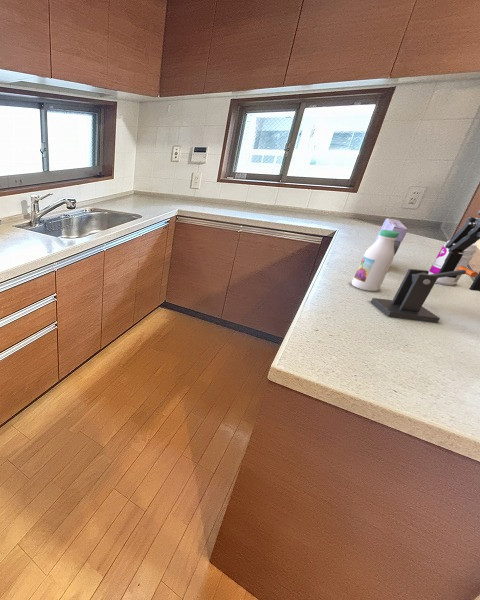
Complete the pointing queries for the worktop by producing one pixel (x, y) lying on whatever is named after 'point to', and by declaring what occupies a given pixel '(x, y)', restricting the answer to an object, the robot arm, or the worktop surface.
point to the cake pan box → (394, 226)
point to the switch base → (410, 298)
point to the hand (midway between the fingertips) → (459, 282)
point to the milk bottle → (376, 262)
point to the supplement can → (463, 262)
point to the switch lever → (451, 273)
